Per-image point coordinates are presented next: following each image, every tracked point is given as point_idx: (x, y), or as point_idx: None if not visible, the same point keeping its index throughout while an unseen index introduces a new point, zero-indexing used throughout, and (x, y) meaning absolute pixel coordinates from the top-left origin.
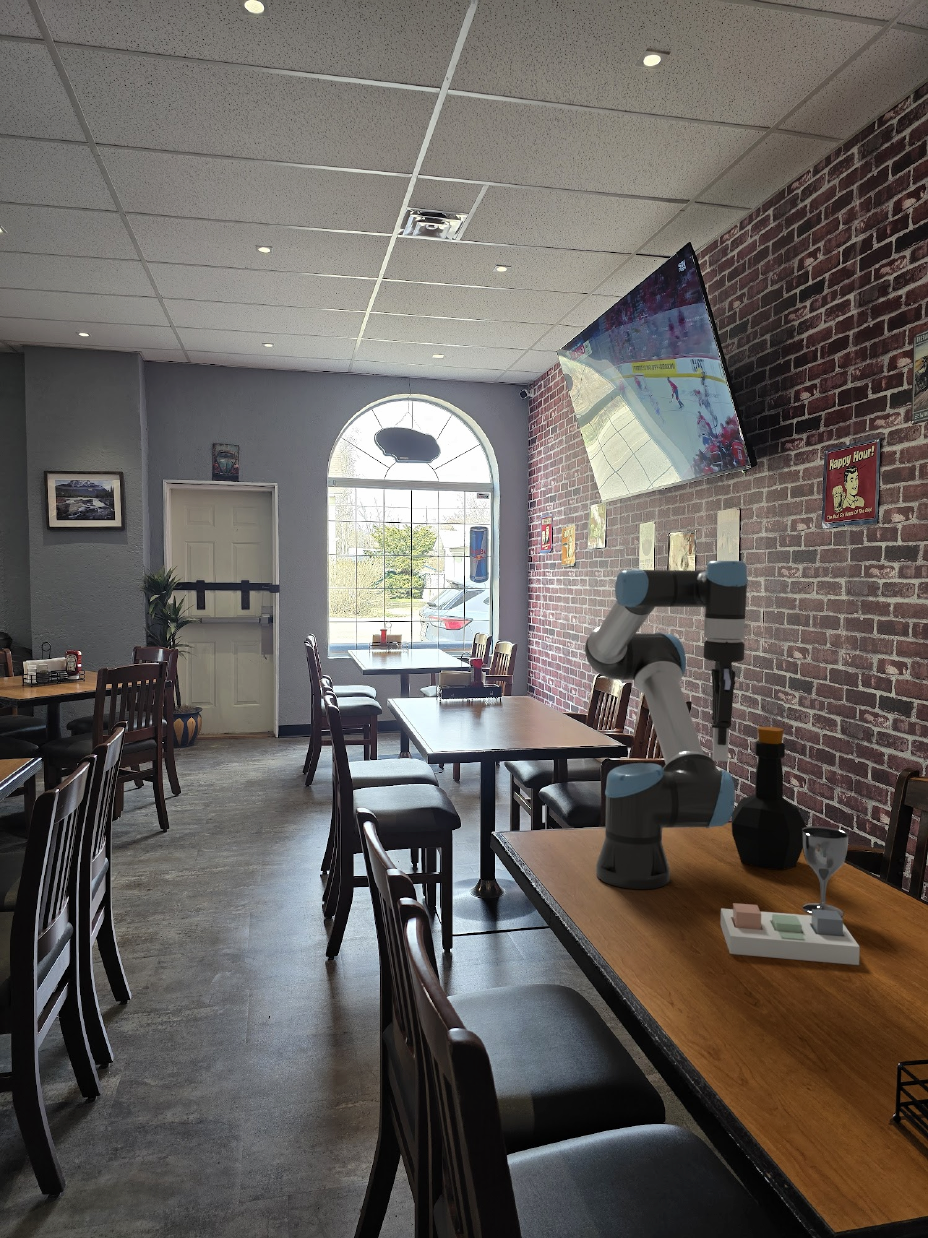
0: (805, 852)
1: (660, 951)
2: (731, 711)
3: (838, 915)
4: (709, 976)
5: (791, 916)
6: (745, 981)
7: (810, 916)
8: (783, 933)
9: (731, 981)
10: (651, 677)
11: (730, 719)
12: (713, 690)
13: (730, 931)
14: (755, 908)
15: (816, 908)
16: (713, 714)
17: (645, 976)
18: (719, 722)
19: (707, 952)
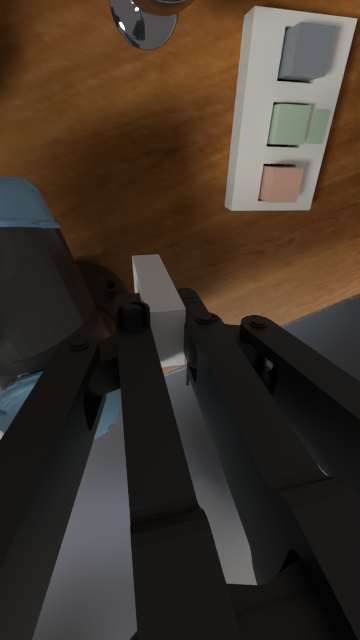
0: (171, 15)
1: (289, 274)
2: (336, 367)
3: (317, 26)
4: (340, 232)
5: (282, 113)
6: (354, 199)
7: (252, 68)
8: (312, 138)
9: (352, 213)
10: None
11: (293, 340)
12: (45, 594)
13: (298, 208)
14: (286, 173)
15: (153, 20)
16: (102, 410)
17: (333, 286)
18: (267, 371)
19: (293, 229)
